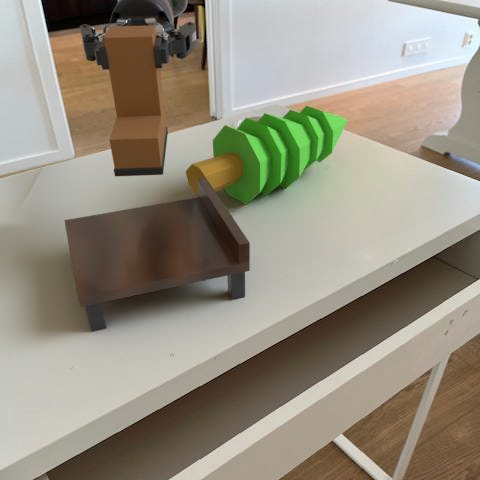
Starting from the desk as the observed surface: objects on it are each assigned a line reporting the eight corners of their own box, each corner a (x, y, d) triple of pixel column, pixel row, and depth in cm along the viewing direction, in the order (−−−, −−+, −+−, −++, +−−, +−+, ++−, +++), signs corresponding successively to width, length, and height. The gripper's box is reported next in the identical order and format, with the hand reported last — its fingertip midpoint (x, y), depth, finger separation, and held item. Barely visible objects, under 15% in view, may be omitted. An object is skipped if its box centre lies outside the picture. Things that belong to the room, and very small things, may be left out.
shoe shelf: (88, 335, 53) (72, 278, 49) (73, 254, 65) (59, 201, 60) (249, 298, 58) (249, 242, 53) (209, 228, 69) (206, 177, 64)
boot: (114, 176, 55) (92, 55, 47) (126, 134, 64) (108, 26, 56) (163, 174, 55) (148, 53, 47) (167, 132, 64) (156, 25, 56)
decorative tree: (178, 121, 66) (338, 67, 79) (171, 184, 76) (314, 127, 89) (231, 180, 63) (389, 113, 76) (216, 238, 72) (358, 170, 86)
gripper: (81, -11, 63) (52, 19, 51) (197, -13, 64) (197, 16, 51) (93, 55, 68) (70, 98, 56) (200, 52, 69) (201, 94, 56)
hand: (131, 58), depth 54 cm, fingers closed on boot, 5 cm apart
